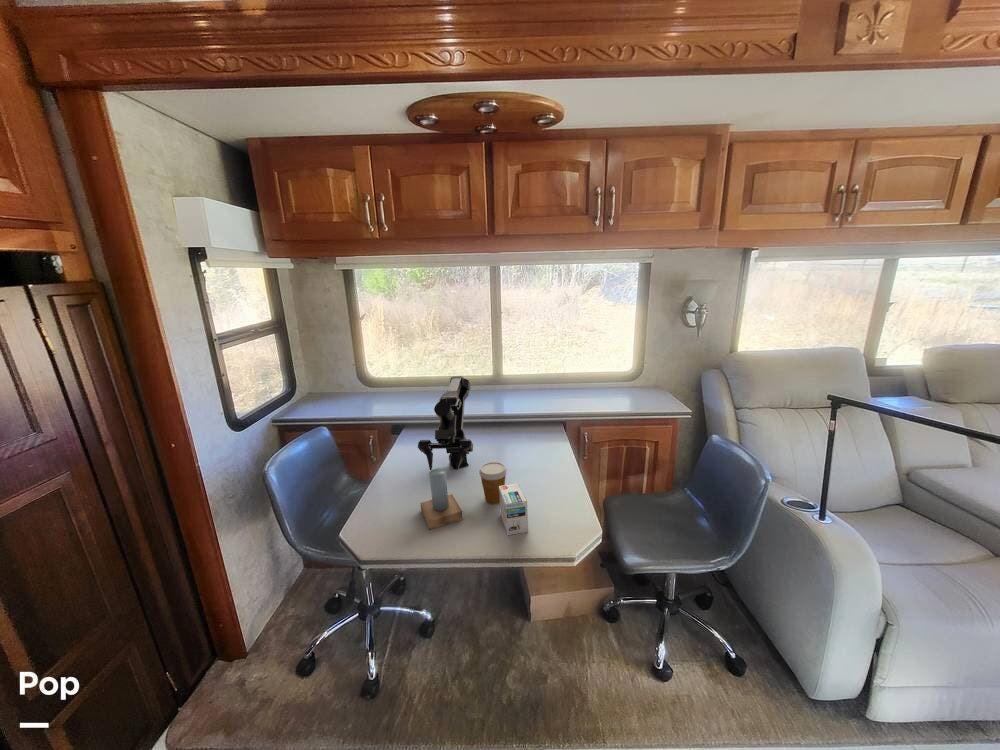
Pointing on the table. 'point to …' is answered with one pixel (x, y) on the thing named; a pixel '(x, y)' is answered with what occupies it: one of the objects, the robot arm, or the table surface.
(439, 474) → the slate canister
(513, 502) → the light bulb box
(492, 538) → the table surface
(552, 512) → the table surface
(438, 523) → the walnut base
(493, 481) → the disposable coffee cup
